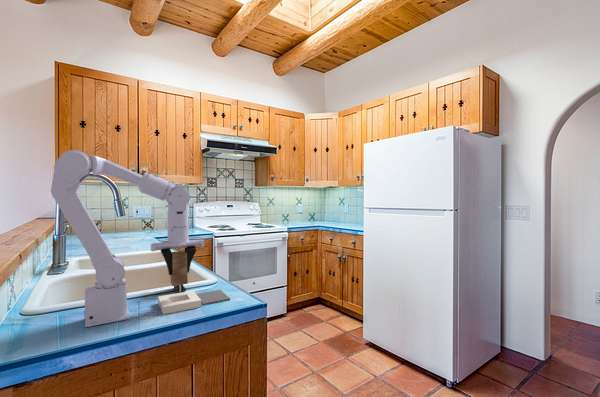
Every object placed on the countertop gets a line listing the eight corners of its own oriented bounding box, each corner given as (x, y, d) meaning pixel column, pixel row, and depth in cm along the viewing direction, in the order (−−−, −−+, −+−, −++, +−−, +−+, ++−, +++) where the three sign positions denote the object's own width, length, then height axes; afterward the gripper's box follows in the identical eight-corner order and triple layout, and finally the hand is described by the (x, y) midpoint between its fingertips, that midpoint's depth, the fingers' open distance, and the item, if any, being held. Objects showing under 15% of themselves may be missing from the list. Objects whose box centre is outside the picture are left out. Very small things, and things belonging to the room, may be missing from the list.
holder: (163, 314, 83) (162, 307, 83) (158, 303, 92) (158, 296, 92) (201, 306, 88) (201, 300, 88) (193, 296, 97) (193, 290, 97)
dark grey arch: (189, 291, 103) (188, 257, 102) (177, 293, 100) (177, 258, 100) (182, 286, 108) (182, 254, 108) (171, 288, 106) (171, 255, 106)
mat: (203, 305, 90) (203, 303, 90) (195, 295, 98) (195, 294, 98) (230, 299, 94) (230, 298, 94) (220, 291, 102) (220, 289, 102)
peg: (172, 285, 87) (172, 254, 87) (170, 282, 90) (170, 252, 90) (187, 283, 89) (187, 252, 89) (184, 280, 93) (184, 250, 92)
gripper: (152, 229, 82) (153, 280, 83) (206, 226, 90) (207, 272, 90) (149, 227, 88) (150, 274, 89) (200, 224, 96) (201, 267, 96)
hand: (178, 273), depth 90 cm, fingers closed on peg, 4 cm apart
